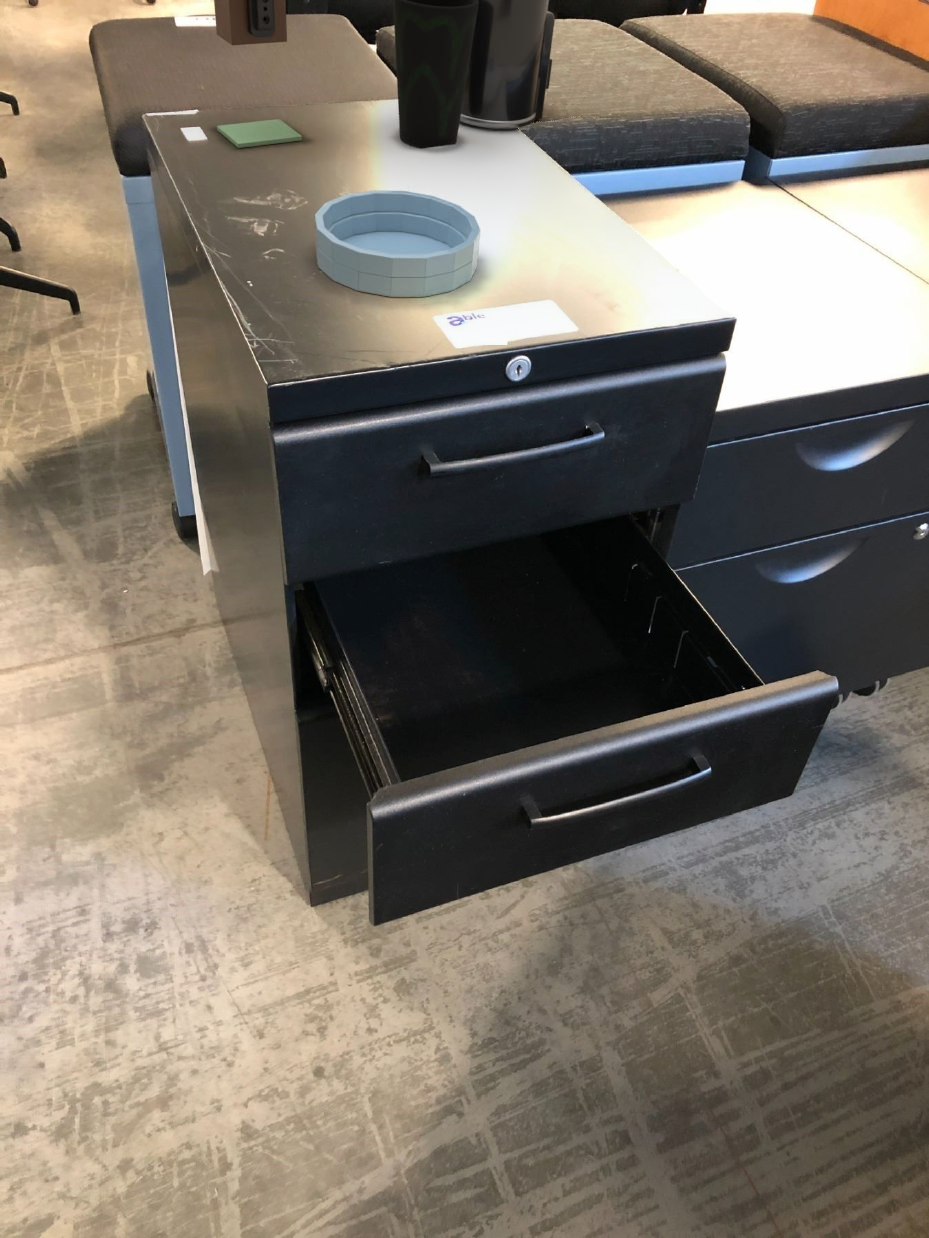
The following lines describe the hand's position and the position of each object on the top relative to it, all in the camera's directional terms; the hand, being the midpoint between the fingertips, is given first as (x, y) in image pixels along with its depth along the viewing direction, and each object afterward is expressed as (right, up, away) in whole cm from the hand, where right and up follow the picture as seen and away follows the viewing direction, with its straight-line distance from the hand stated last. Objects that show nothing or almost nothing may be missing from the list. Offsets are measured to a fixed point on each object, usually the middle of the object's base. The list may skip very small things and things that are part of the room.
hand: (252, 28), depth 85 cm
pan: (+13, -25, -11) cm, 31 cm away
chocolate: (0, -1, +1) cm, 1 cm away
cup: (+15, -5, +10) cm, 19 cm away
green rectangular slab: (-1, -6, +6) cm, 9 cm away
